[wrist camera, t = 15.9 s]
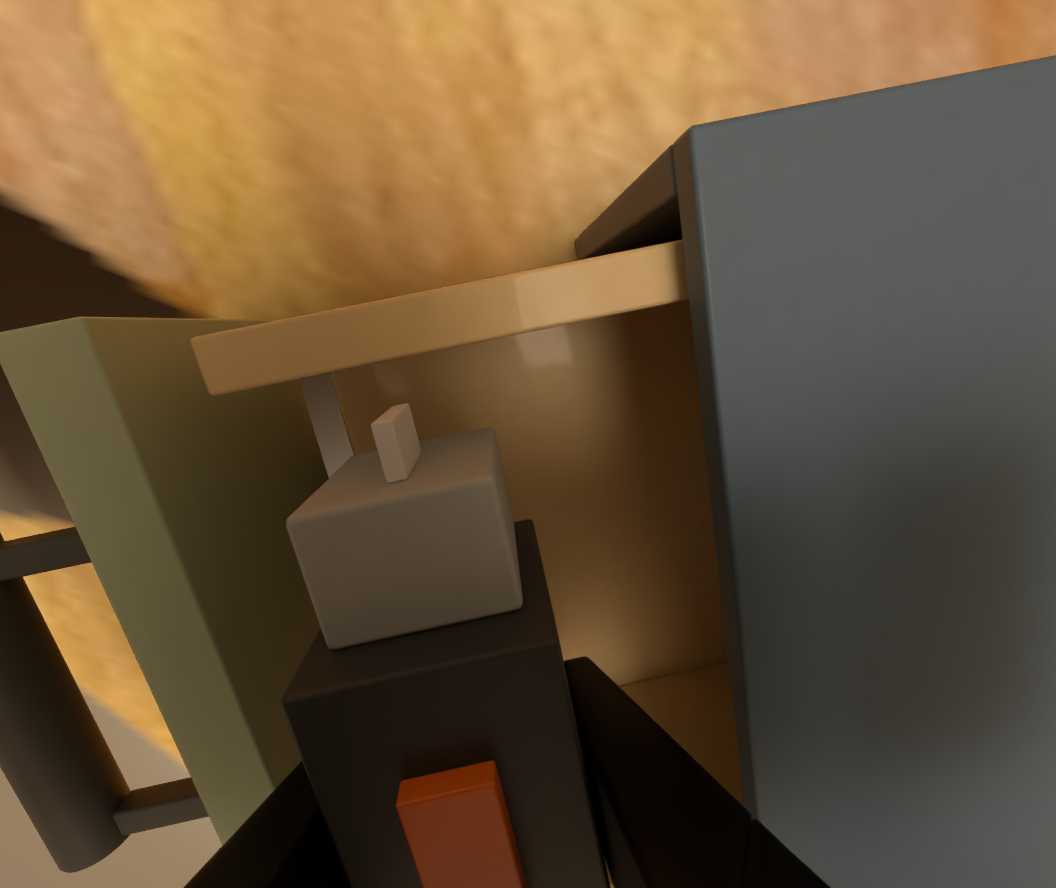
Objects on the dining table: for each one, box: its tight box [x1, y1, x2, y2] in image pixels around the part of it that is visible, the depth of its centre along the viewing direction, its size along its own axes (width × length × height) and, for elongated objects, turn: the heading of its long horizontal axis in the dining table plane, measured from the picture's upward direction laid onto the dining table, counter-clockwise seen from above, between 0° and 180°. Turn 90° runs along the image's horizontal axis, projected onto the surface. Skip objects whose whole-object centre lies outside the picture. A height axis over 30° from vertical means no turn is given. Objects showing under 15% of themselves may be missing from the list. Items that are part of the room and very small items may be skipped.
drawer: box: [0, 239, 744, 888], centre depth 11 cm, size 18×13×6 cm
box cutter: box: [281, 403, 610, 888], centre depth 7 cm, size 8×3×4 cm, turn 11°
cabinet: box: [575, 55, 1056, 888], centre depth 11 cm, size 14×14×8 cm
